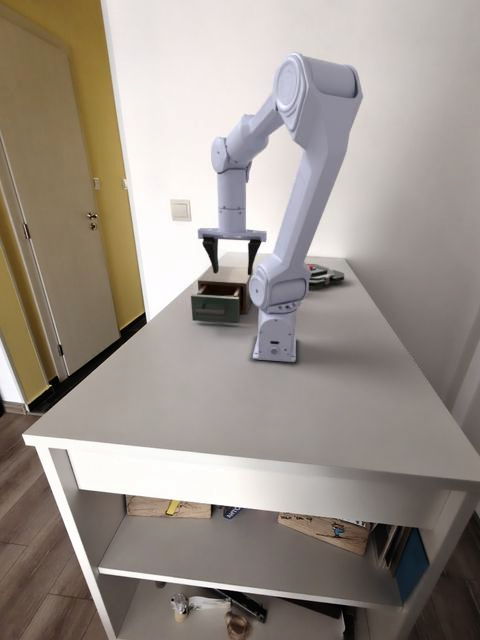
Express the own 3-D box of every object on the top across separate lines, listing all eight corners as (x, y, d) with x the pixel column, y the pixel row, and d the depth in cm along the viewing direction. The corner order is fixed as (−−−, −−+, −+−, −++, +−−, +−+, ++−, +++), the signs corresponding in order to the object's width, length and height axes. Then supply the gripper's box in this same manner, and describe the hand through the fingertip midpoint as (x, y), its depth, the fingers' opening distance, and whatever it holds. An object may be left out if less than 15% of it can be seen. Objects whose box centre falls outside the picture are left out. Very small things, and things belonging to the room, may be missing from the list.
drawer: (235, 332, 70) (234, 306, 67) (186, 328, 71) (184, 303, 68) (246, 303, 85) (246, 281, 82) (206, 300, 85) (204, 278, 82)
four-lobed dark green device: (269, 277, 108) (270, 262, 106) (309, 269, 118) (311, 256, 116) (308, 292, 96) (309, 277, 94) (349, 282, 106) (351, 268, 103)
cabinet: (246, 313, 81) (246, 283, 77) (199, 310, 82) (197, 280, 78) (252, 294, 93) (253, 267, 89) (212, 292, 94) (210, 265, 90)
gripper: (268, 207, 71) (266, 269, 78) (202, 204, 72) (205, 266, 79) (266, 211, 65) (263, 278, 72) (193, 207, 66) (197, 275, 73)
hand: (232, 273), depth 75 cm, fingers open, 7 cm apart
